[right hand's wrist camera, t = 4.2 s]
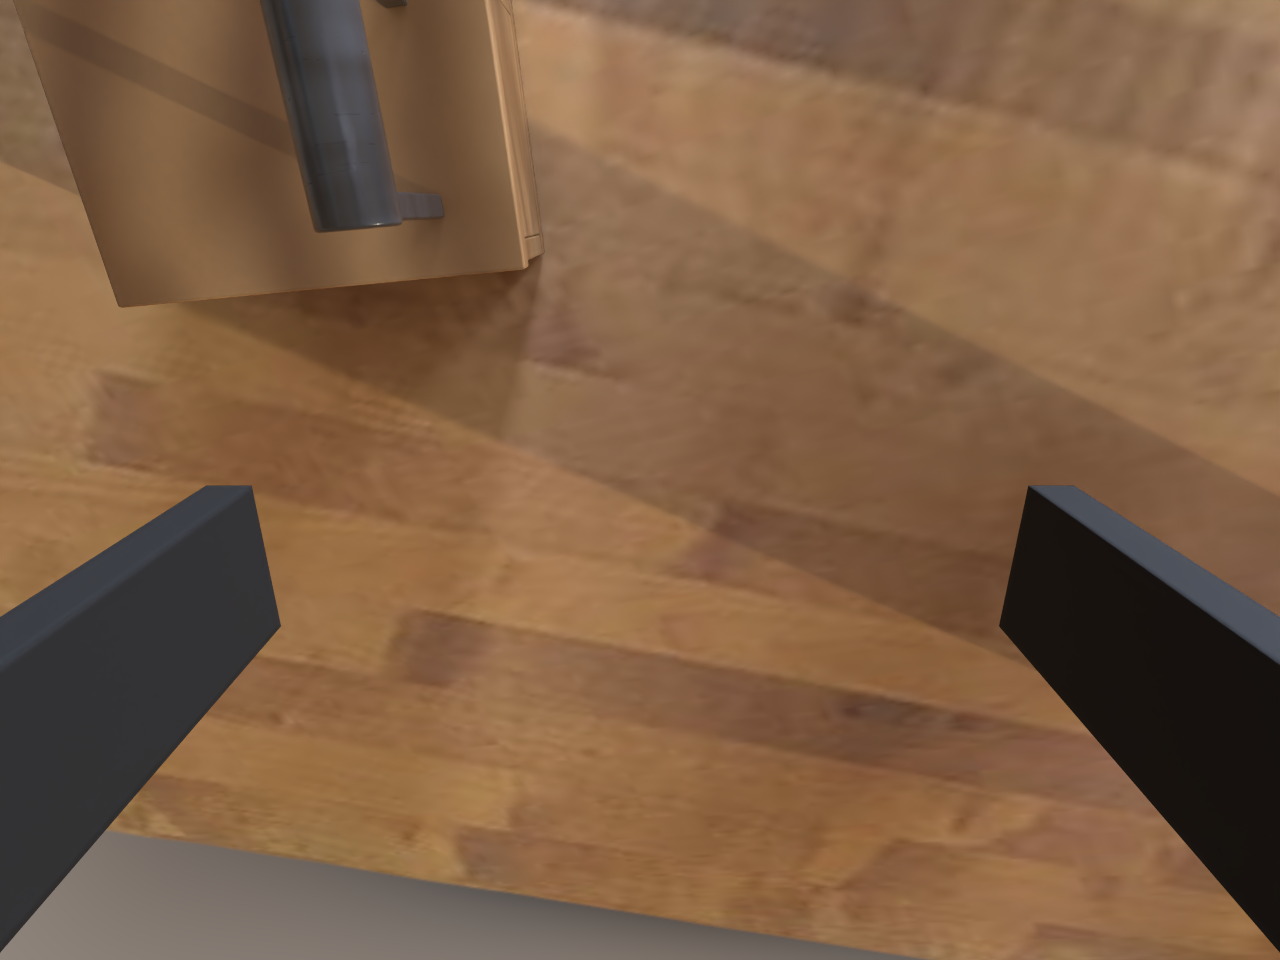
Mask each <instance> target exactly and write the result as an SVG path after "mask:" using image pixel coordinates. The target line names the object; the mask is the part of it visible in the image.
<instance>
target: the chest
mask: <svg viewBox="0 0 1280 960" xmlns="http://www.w3.org/2000/svg"><path fill="white" fill-rule="evenodd" d="M491 2H492V9H493V16H494V23H495V30H496V38H497V45H498V52H499V59H500V66H501V73H502V80H503V87H504V94H505V101H506V109H507V116H508V123H509V130H510V137H511V144H512V151H513V158H514V165H515V173H516V180H517V187H518V194H519V201H520V208H521V215H522V222H523V229H524V237H525V244H526V251H527V258H528V260H530V259H532V258H534V257H537V256H539V255H541V254H543V253H544V252H545V251H544V243H543V236H542V228H541V221H540V213H539V206H538V198H537V190H536V183H535V175H534V168H533V160H532V153H531V145H530V137H529V130H528V122H527V115H526V107H525V100H524V92H523V84H522V77H521V69H520V62H519V54H518V47H517V39H516V31H515V24H514V16H513V9H512V1H511V0H491Z"/></svg>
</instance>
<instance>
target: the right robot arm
mask: <svg viewBox="0 0 1280 960" xmlns="http://www.w3.org/2000/svg"><path fill="white" fill-rule="evenodd" d="M280 627H281V624H280V620H279V615H278V610H277V605H276V600H275V596H274V591H273V586H272V581H271V577H270V572H269V567H268V562H267V557H266V553H265V548H264V543H263V538H262V533H261V529H260V524H259V519H258V514H257V509H256V505H255V500H254V495H253V490H252V486H205V487H203V488H202V489H200V490H199V491H197V492H195V493H194V494H192V495H191V496H189V497H188V498H186V499H184V500H183V501H181V502H180V503H178V504H177V505H175V506H174V507H172V508H170V509H169V510H167V511H166V512H164V513H163V514H161V515H159V516H158V517H156V518H155V519H153V520H152V521H150V522H148V523H147V524H145V525H144V526H142V527H141V528H139V529H137V530H136V531H134V532H133V533H131V534H130V535H128V536H127V537H125V538H123V539H122V540H120V541H119V542H117V543H116V544H114V545H112V546H111V547H109V548H108V549H106V550H105V551H103V552H101V553H100V554H98V555H97V556H95V557H94V558H92V559H90V560H89V561H87V562H86V563H84V564H83V565H81V566H80V567H78V568H76V569H75V570H73V571H72V572H70V573H69V574H67V575H65V576H64V577H62V578H61V579H59V580H58V581H56V582H54V583H53V584H51V585H50V586H48V587H47V588H45V589H43V590H42V591H40V592H39V593H37V594H36V595H34V596H33V597H31V598H29V599H28V600H26V601H25V602H23V603H22V604H20V605H18V606H17V607H15V608H14V609H12V610H11V611H9V612H7V613H6V614H4V615H3V616H1V617H0V952H1V951H2V950H3V949H4V947H5V946H6V945H7V944H8V943H9V942H10V940H11V939H12V938H13V937H14V936H15V935H16V933H17V932H18V931H19V930H20V929H21V928H22V927H23V925H24V924H25V923H26V922H27V921H28V920H29V918H30V917H31V916H32V915H33V914H34V913H35V911H36V910H37V909H38V908H39V907H40V906H41V904H42V903H43V902H44V901H45V900H46V899H47V897H48V896H49V895H50V894H51V893H52V892H53V890H54V889H55V888H56V887H57V886H58V885H59V884H60V882H61V881H62V880H63V879H64V878H65V876H66V875H67V874H68V873H69V872H70V871H71V870H72V868H73V867H74V866H75V865H76V864H77V862H78V861H79V860H80V859H81V858H82V857H83V856H84V854H85V853H86V852H87V851H88V850H89V849H90V847H91V846H92V845H93V844H94V843H95V842H96V840H97V839H98V838H99V837H100V836H101V835H102V834H103V832H104V831H105V830H106V829H107V828H108V827H109V825H110V824H111V823H112V822H113V821H114V820H115V818H116V817H117V816H118V815H119V814H120V813H121V811H122V810H123V809H124V808H125V807H126V806H127V804H128V803H129V802H130V801H131V800H132V799H133V797H134V796H135V795H136V794H137V793H138V792H139V791H140V789H141V788H142V787H143V786H144V785H145V784H146V782H147V781H148V780H149V779H150V778H151V777H152V775H153V774H154V773H155V772H156V771H157V770H158V768H159V767H160V766H161V765H162V764H163V763H164V761H165V760H166V759H167V758H168V757H169V756H170V754H171V753H172V752H173V751H174V750H175V749H176V748H177V746H178V745H179V744H180V743H181V742H182V741H183V739H184V738H185V737H186V736H187V735H188V734H189V732H190V731H191V730H192V729H193V728H194V727H195V725H196V724H197V723H198V722H199V721H200V720H201V718H202V717H203V716H204V715H205V714H206V713H207V711H208V710H209V709H210V708H211V707H212V706H213V705H214V703H215V702H216V701H217V700H218V699H219V698H220V696H221V695H222V694H223V693H224V692H225V691H226V689H227V688H228V687H229V686H230V685H231V684H232V682H233V681H234V680H235V679H236V678H237V677H238V675H239V674H240V673H241V672H242V671H243V670H244V668H245V667H246V666H247V665H248V664H249V663H250V661H251V660H252V659H253V658H254V657H255V656H256V655H257V653H258V652H259V651H260V650H261V649H262V648H263V646H264V645H265V644H266V643H267V642H268V641H269V639H270V638H271V637H272V636H273V635H274V634H275V632H276V631H277V630H278V629H279V628H280ZM999 627H1000V628H1001V629H1002V630H1003V631H1004V632H1005V634H1006V635H1007V636H1008V637H1009V638H1010V639H1011V641H1012V642H1013V643H1014V644H1015V645H1016V646H1017V648H1018V649H1019V650H1020V651H1021V652H1022V653H1023V655H1024V656H1025V657H1026V658H1027V659H1028V660H1029V662H1030V663H1031V664H1032V665H1033V666H1034V667H1035V668H1036V670H1037V671H1038V672H1039V673H1040V674H1041V675H1042V677H1043V678H1044V679H1045V680H1046V681H1047V682H1048V684H1049V685H1050V686H1051V687H1052V688H1053V689H1054V691H1055V692H1056V693H1057V694H1058V695H1059V696H1060V698H1061V699H1062V700H1063V701H1064V702H1065V703H1066V705H1067V706H1068V707H1069V708H1070V709H1071V710H1072V711H1073V713H1074V714H1075V715H1076V716H1077V717H1078V718H1079V720H1080V721H1081V722H1082V723H1083V724H1084V725H1085V727H1086V728H1087V729H1088V730H1089V731H1090V732H1091V734H1092V735H1093V736H1094V737H1095V738H1096V739H1097V741H1098V742H1099V743H1100V744H1101V745H1102V746H1103V748H1104V749H1105V750H1106V751H1107V752H1108V753H1109V754H1110V756H1111V757H1112V758H1113V759H1114V760H1115V761H1116V763H1117V764H1118V765H1119V766H1120V767H1121V768H1122V770H1123V771H1124V772H1125V773H1126V774H1127V775H1128V777H1129V778H1130V779H1131V780H1132V781H1133V782H1134V784H1135V785H1136V786H1137V787H1138V788H1139V789H1140V791H1141V792H1142V793H1143V794H1144V795H1145V796H1146V797H1147V799H1148V800H1149V801H1150V802H1151V803H1152V804H1153V806H1154V807H1155V808H1156V809H1157V810H1158V811H1159V813H1160V814H1161V815H1162V816H1163V817H1164V818H1165V820H1166V821H1167V822H1168V823H1169V824H1170V825H1171V827H1172V828H1173V829H1174V830H1175V831H1176V832H1177V834H1178V835H1179V836H1180V837H1181V838H1182V839H1183V840H1184V842H1185V843H1186V844H1187V845H1188V846H1189V847H1190V849H1191V850H1192V851H1193V852H1194V853H1195V854H1196V856H1197V857H1198V858H1199V859H1200V860H1201V861H1202V863H1203V864H1204V865H1205V866H1206V867H1207V868H1208V870H1209V871H1210V872H1211V873H1212V874H1213V875H1214V877H1215V878H1216V879H1217V880H1218V881H1219V882H1220V884H1221V885H1222V886H1223V887H1224V888H1225V889H1226V890H1227V892H1228V893H1229V894H1230V895H1231V896H1232V897H1233V899H1234V900H1235V901H1236V902H1237V903H1238V904H1239V906H1240V907H1241V908H1242V909H1243V910H1244V911H1245V913H1246V914H1247V915H1248V916H1249V917H1250V918H1251V920H1252V921H1253V922H1254V923H1255V924H1256V925H1257V927H1258V928H1259V929H1260V930H1261V931H1262V932H1263V933H1264V935H1265V936H1266V937H1267V938H1268V939H1269V940H1270V942H1271V943H1272V944H1273V945H1274V946H1275V947H1276V949H1277V950H1278V951H1279V952H1280V617H1279V616H1277V615H1276V614H1274V613H1273V612H1271V611H1269V610H1268V609H1266V608H1265V607H1263V606H1262V605H1260V604H1258V603H1257V602H1255V601H1254V600H1252V599H1251V598H1249V597H1247V596H1246V595H1244V594H1243V593H1241V592H1240V591H1238V590H1237V589H1235V588H1233V587H1232V586H1230V585H1229V584H1227V583H1226V582H1224V581H1222V580H1221V579H1219V578H1218V577H1216V576H1215V575H1213V574H1211V573H1210V572H1208V571H1207V570H1205V569H1204V568H1202V567H1200V566H1199V565H1197V564H1196V563H1194V562H1193V561H1191V560H1190V559H1188V558H1186V557H1185V556H1183V555H1182V554H1180V553H1179V552H1177V551H1175V550H1174V549H1172V548H1171V547H1169V546H1168V545H1166V544H1164V543H1163V542H1161V541H1160V540H1158V539H1157V538H1155V537H1153V536H1152V535H1150V534H1149V533H1147V532H1146V531H1144V530H1143V529H1141V528H1139V527H1138V526H1136V525H1135V524H1133V523H1132V522H1130V521H1128V520H1127V519H1125V518H1124V517H1122V516H1121V515H1119V514H1117V513H1116V512H1114V511H1113V510H1111V509H1110V508H1108V507H1106V506H1105V505H1103V504H1102V503H1100V502H1099V501H1097V500H1096V499H1094V498H1092V497H1091V496H1089V495H1088V494H1086V493H1085V492H1083V491H1081V490H1080V489H1078V488H1077V487H1075V486H1028V490H1027V495H1026V500H1025V505H1024V509H1023V514H1022V519H1021V524H1020V529H1019V533H1018V538H1017V543H1016V548H1015V553H1014V557H1013V562H1012V567H1011V572H1010V577H1009V581H1008V586H1007V591H1006V596H1005V600H1004V605H1003V610H1002V615H1001V620H1000V624H999Z"/></svg>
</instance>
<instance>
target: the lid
mask: <svg viewBox="0 0 1280 960" xmlns="http://www.w3.org/2000/svg"><path fill="white" fill-rule="evenodd" d="M13 1H14V4H15V7H16V10H17V13H18V16H19V19H20V21H21V24H22V27H23V30H24V33H25V36H26V39H27V42H28V45H29V48H30V51H31V53H32V56H33V59H34V62H35V65H36V68H37V71H38V74H39V77H40V80H41V82H42V85H43V88H44V91H45V94H46V97H47V100H48V103H49V106H50V109H51V112H52V114H53V117H54V120H55V123H56V126H57V129H58V132H59V135H60V138H61V141H62V144H63V146H64V149H65V152H66V155H67V158H68V161H69V164H70V167H71V170H72V173H73V175H74V178H75V181H76V184H77V187H78V190H79V193H80V196H81V199H82V202H83V205H84V207H85V210H86V213H87V216H88V219H89V222H90V225H91V228H92V231H93V234H94V236H95V239H96V242H97V245H98V248H99V251H100V254H101V257H102V260H103V263H104V266H105V268H106V271H107V274H108V277H109V280H110V283H111V286H112V289H113V292H114V295H115V297H116V300H117V303H118V306H119V307H122V308H123V307H134V306H144V305H155V304H165V303H176V302H187V301H197V300H208V299H218V298H229V297H239V296H250V295H260V294H271V293H282V292H292V291H303V290H313V289H324V288H334V287H345V286H356V285H366V284H377V283H387V282H398V281H408V280H419V279H429V278H440V277H451V276H461V275H472V274H482V273H493V272H503V271H514V270H523V269H525V268H527V267H528V258H527V251H526V244H525V237H524V229H523V222H522V215H521V208H520V201H519V194H518V187H517V180H516V173H515V165H514V158H513V151H512V144H511V137H510V130H509V123H508V116H507V109H506V101H505V94H504V87H503V80H502V73H501V66H500V59H499V52H498V45H497V38H496V30H495V23H494V16H493V9H492V2H491V0H13Z"/></svg>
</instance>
